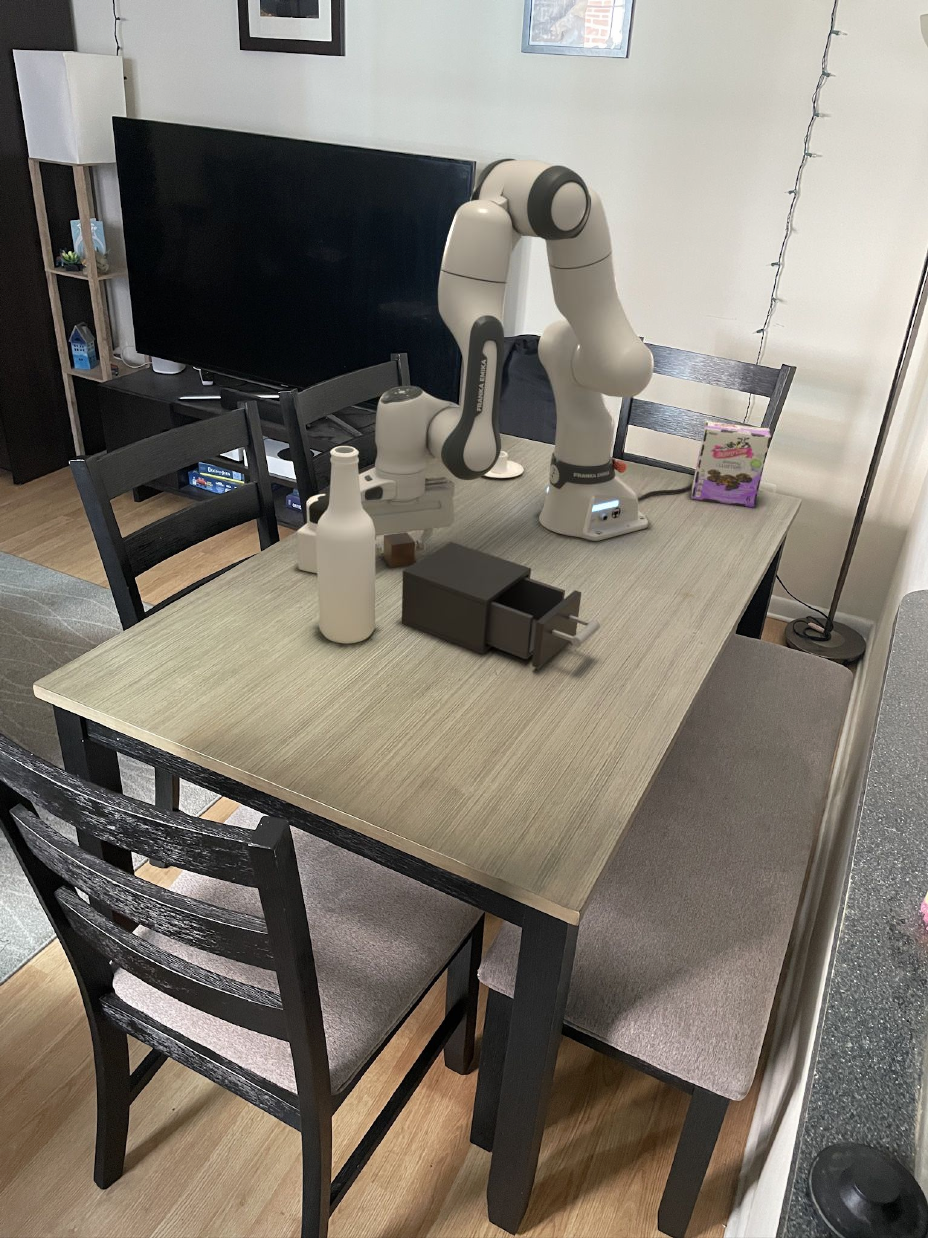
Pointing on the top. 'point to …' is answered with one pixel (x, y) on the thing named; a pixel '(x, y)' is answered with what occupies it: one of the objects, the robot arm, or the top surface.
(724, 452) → the candy box
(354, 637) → the alcohol
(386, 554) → the block
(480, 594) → the small drawer cabinet
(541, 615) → the pull-out drawer
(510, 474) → the candle holder
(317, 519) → the container
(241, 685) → the top surface
